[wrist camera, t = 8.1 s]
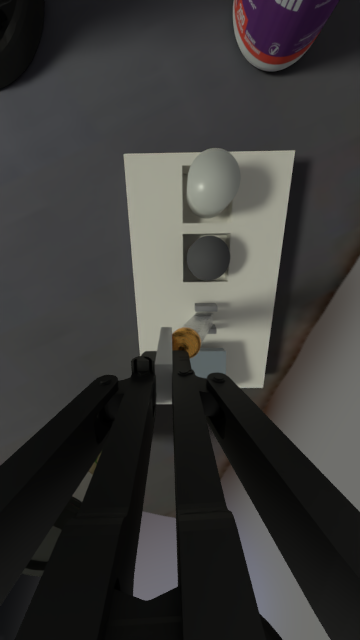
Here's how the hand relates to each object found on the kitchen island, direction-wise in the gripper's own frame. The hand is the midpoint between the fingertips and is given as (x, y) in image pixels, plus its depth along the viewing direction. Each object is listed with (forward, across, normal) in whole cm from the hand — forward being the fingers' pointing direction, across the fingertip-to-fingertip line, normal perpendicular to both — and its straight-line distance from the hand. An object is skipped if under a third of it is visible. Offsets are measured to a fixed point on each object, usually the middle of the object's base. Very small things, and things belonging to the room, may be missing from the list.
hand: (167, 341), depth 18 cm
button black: (+8, +4, +7) cm, 11 cm away
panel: (+9, +4, +4) cm, 10 cm away
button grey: (+6, +4, +13) cm, 15 cm away
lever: (+5, +4, +1) cm, 7 cm away
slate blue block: (+4, +4, -6) cm, 8 cm away
